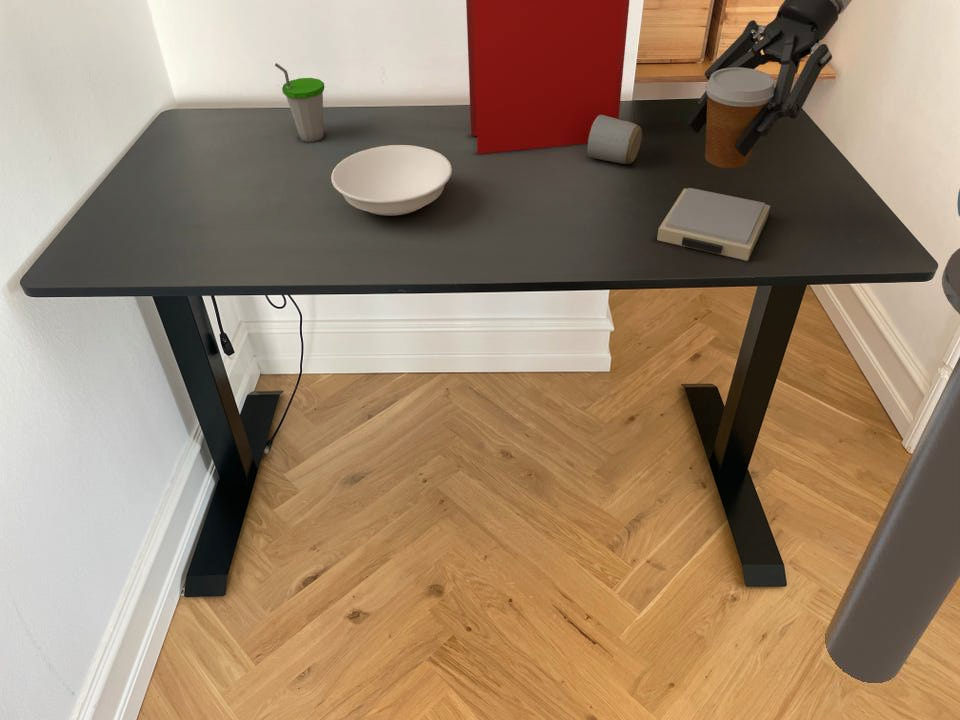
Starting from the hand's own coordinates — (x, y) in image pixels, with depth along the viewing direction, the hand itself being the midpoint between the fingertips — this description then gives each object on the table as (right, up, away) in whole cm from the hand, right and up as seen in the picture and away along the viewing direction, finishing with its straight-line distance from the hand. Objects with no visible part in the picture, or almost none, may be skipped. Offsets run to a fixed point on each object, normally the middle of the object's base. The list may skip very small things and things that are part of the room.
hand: (715, 139), depth 113 cm
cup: (-67, +12, +41) cm, 80 cm away
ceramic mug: (-9, +6, +31) cm, 33 cm away
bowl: (-48, -6, +20) cm, 53 cm away
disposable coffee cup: (+3, -2, +4) cm, 5 cm away
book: (-22, +11, +38) cm, 45 cm away
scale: (+3, -11, +11) cm, 16 cm away
